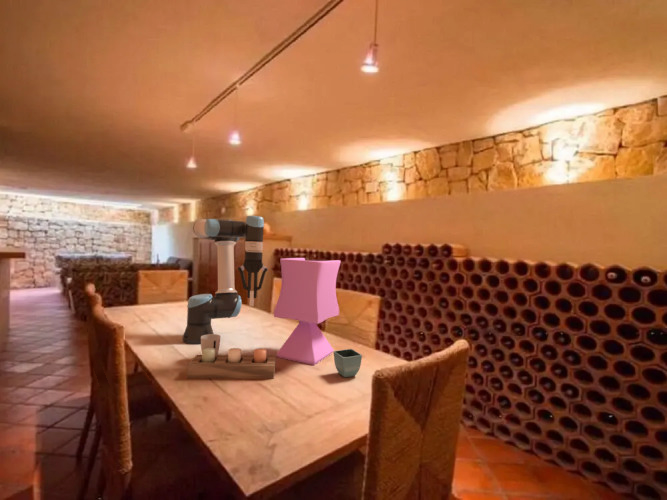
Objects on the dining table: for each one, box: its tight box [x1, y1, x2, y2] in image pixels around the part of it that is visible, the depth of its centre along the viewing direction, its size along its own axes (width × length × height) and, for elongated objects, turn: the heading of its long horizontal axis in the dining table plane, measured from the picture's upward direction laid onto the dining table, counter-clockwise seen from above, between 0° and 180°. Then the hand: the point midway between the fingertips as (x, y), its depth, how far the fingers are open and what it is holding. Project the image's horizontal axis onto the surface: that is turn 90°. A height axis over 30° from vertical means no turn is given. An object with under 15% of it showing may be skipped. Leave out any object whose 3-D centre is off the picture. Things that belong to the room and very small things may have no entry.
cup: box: [200, 333, 221, 355], centre depth 147 cm, size 8×8×10 cm
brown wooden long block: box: [186, 354, 277, 380], centre depth 134 cm, size 12×32×5 cm, turn 96°
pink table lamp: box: [273, 257, 341, 366], centre depth 158 cm, size 22×22×45 cm
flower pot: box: [333, 348, 363, 378], centre depth 136 cm, size 9×9×9 cm
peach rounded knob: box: [227, 347, 242, 363], centre depth 134 cm, size 5×5×5 cm
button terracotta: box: [253, 348, 267, 363], centre depth 135 cm, size 5×5×5 cm
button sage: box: [201, 348, 215, 363], centre depth 133 cm, size 5×5×5 cm
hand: (251, 305), depth 147 cm, fingers closed
